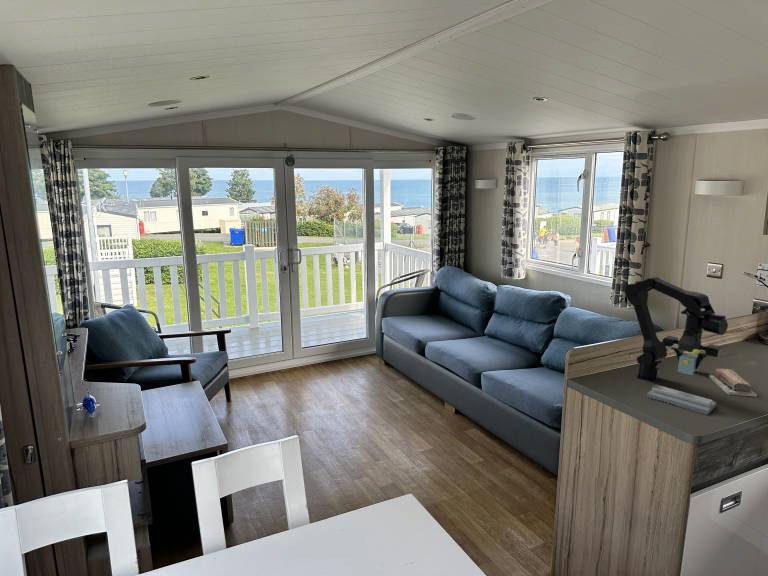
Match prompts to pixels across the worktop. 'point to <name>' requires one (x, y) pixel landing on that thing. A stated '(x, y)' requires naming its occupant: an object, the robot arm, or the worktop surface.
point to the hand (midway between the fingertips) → (688, 367)
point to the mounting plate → (681, 402)
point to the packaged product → (732, 383)
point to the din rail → (682, 395)
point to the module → (687, 363)
